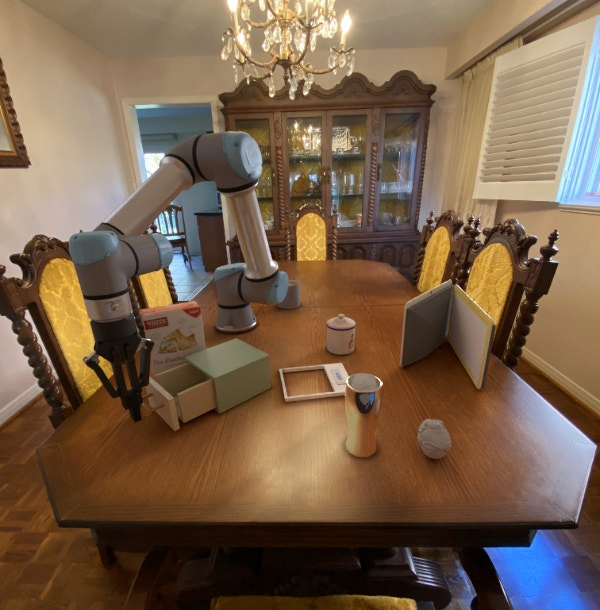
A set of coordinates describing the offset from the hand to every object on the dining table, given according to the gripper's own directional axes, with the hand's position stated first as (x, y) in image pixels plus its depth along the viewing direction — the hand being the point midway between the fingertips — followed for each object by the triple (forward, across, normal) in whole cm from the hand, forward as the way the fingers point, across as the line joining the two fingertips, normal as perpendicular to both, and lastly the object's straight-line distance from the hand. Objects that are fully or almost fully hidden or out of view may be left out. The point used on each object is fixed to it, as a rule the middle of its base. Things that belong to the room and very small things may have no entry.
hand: (136, 418), depth 74 cm
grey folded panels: (+4, +75, -29) cm, 81 cm away
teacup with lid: (+4, +62, -5) cm, 62 cm away
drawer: (+3, +10, 0) cm, 10 cm away
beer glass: (+4, +30, -37) cm, 48 cm away
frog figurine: (+4, +38, -48) cm, 61 cm away
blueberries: (+2, +12, 0) cm, 12 cm away
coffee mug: (+4, +77, +39) cm, 86 cm away
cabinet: (+3, +23, 0) cm, 24 cm away
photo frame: (+3, +41, -14) cm, 43 cm away
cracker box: (+4, +17, +14) cm, 22 cm away
